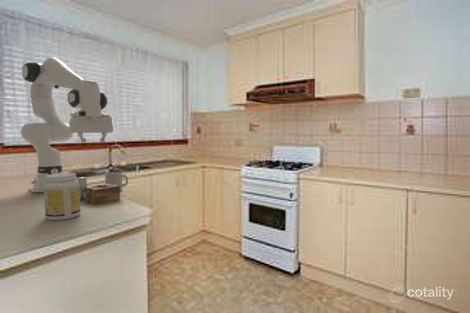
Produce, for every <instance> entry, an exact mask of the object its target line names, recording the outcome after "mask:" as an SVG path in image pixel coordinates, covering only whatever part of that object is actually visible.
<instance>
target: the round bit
mask: <svg viewBox="0 0 470 313" xmlns="http://www.w3.org/2000/svg"><path fill="white" fill-rule="evenodd" d="M76 180H77V181H78V182H79V193H80V202H81V201H82V200H83V201H86V194H85V187H88V186H87V184H88V183H87V182H88V181H87V177H85V176H83V177H77V178H76Z"/></svg>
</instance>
